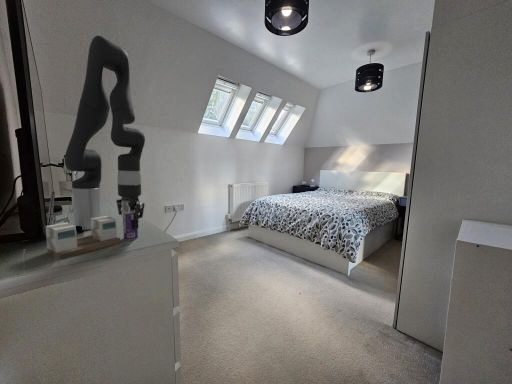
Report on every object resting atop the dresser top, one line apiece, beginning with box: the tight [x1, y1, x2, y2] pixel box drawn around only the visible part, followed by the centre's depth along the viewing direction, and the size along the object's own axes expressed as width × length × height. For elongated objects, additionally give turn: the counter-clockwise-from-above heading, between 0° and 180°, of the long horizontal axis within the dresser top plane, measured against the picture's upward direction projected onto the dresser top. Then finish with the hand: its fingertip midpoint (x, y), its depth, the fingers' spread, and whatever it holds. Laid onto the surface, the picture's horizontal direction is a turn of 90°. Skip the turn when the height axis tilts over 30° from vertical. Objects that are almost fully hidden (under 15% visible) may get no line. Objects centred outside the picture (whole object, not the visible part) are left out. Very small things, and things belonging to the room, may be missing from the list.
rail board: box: [45, 215, 121, 260], centre depth 71 cm, size 9×17×8 cm, turn 152°
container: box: [122, 200, 139, 242], centre depth 81 cm, size 5×5×15 cm
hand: (130, 227), depth 81 cm, fingers closed on container, 4 cm apart
